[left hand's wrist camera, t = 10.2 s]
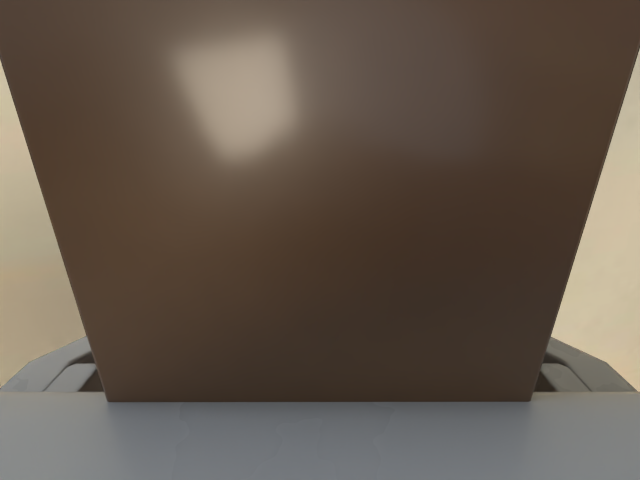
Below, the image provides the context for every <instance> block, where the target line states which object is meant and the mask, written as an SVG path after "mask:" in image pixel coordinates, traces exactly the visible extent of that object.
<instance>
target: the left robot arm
mask: <svg viewBox="0 0 640 480" xmlns="http://www.w3.org/2000/svg"><path fill="white" fill-rule="evenodd" d="M0 480H640V392H638V391H637V390H636V389H635V388H634V387H632V386H631V385H630V384H629V383H628V382H627V381H626V380H625V379H624V378H623V377H622V376H621V375H619V374H618V373H617V372H616V371H615V370H614V369H613V368H612V367H611V366H610V365H609V364H607V363H606V362H604V361H602V360H600V359H598V358H596V357H593V356H591V355H589V354H587V353H585V352H583V351H580V350H578V349H576V348H574V347H572V346H570V345H567V344H565V343H563V342H561V341H559V340H557V339H555V338H552V337H550V340H549V343H548V346H547V350H546V353H545V356H544V359H543V363H542V366H541V369H540V372H539V376H538V379H537V382H536V385H535V389H534V392H533V395H532V398H531V401H529V402H107V400H106V396H105V393H104V390H103V387H102V384H101V380H100V377H99V374H98V371H97V367H96V364H95V361H94V358H93V355H92V351H91V348H90V345H89V342H88V339H87V336H85V337H83V338H81V339H79V340H77V341H74V342H72V343H70V344H68V345H66V346H63V347H61V348H59V349H57V350H55V351H52V352H50V353H48V354H46V355H44V356H42V357H39V358H37V359H35V360H33V361H31V362H29V363H28V364H27V365H26V366H24V367H23V368H22V369H21V370H20V371H19V372H18V373H17V374H16V375H14V376H13V377H12V378H11V379H10V380H9V381H8V382H7V383H6V384H4V385H3V386H2V387H1V388H0Z"/></svg>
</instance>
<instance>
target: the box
mask: <svg viewBox="0 0 640 480" xmlns="http://www.w3.org/2000/svg"><path fill="white" fill-rule="evenodd" d="M639 49H640V0H0V60H1V63H2V66H3V69H4V72H5V76H6V79H7V82H8V85H9V88H10V92H11V95H12V98H13V101H14V104H15V108H16V111H17V114H18V117H19V121H20V124H21V127H22V130H23V133H24V137H25V140H26V143H27V146H28V149H29V153H30V156H31V159H32V162H33V165H34V169H35V172H36V175H37V178H38V181H39V185H40V188H41V191H42V194H43V197H44V201H45V204H46V207H47V210H48V214H49V217H50V220H51V223H52V226H53V230H54V233H55V236H56V239H57V242H58V246H59V249H60V252H61V255H62V258H63V262H64V265H65V268H66V271H67V274H68V278H69V281H70V284H71V287H72V290H73V294H74V297H75V300H76V303H77V307H78V310H79V313H80V316H81V319H82V323H83V326H84V329H85V332H86V335H87V339H88V342H89V345H90V348H91V351H92V355H93V358H94V361H95V364H96V367H97V371H98V374H99V377H100V380H101V384H102V387H103V390H104V393H105V396H106V400H107V402H529V401H531V398H532V395H533V392H534V389H535V385H536V382H537V379H538V376H539V372H540V369H541V366H542V363H543V359H544V356H545V353H546V350H547V346H548V343H549V340H550V337H551V334H552V330H553V327H554V324H555V321H556V317H557V314H558V311H559V308H560V304H561V301H562V298H563V295H564V291H565V288H566V285H567V282H568V278H569V275H570V272H571V269H572V266H573V262H574V259H575V256H576V253H577V249H578V246H579V243H580V240H581V236H582V233H583V230H584V227H585V223H586V220H587V217H588V214H589V210H590V207H591V204H592V201H593V198H594V194H595V191H596V188H597V185H598V181H599V178H600V175H601V172H602V168H603V165H604V162H605V159H606V155H607V152H608V149H609V146H610V142H611V139H612V136H613V133H614V130H615V126H616V123H617V120H618V117H619V113H620V110H621V107H622V104H623V100H624V97H625V94H626V91H627V87H628V84H629V81H630V78H631V74H632V71H633V68H634V65H635V62H636V58H637V55H638V52H639Z"/></svg>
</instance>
